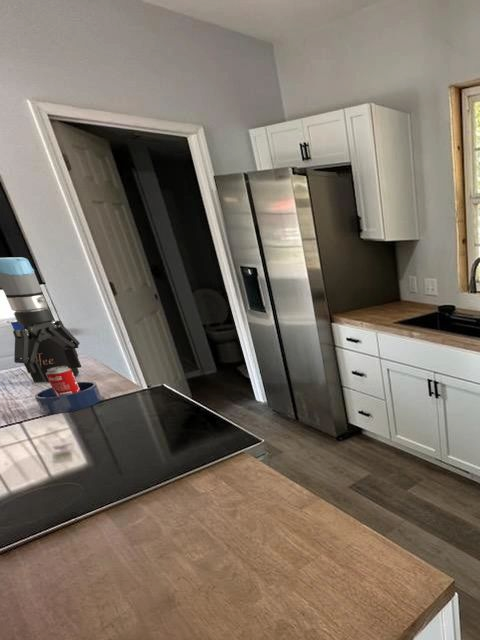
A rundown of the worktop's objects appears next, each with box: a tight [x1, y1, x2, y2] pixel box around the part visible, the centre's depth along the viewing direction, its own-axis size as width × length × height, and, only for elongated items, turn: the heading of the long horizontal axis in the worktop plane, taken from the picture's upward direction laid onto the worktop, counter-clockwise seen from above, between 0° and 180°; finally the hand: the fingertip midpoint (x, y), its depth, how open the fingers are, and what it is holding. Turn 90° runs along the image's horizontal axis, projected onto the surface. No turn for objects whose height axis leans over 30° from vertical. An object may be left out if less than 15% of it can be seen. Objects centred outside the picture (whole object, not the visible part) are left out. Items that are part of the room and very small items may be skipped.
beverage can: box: [46, 366, 80, 397], centre depth 136 cm, size 6×6×12 cm
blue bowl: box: [34, 381, 103, 415], centre depth 137 cm, size 14×14×6 cm
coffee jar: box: [34, 338, 80, 383], centre depth 160 cm, size 11×11×18 cm
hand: (59, 374), depth 134 cm, fingers open, 13 cm apart
